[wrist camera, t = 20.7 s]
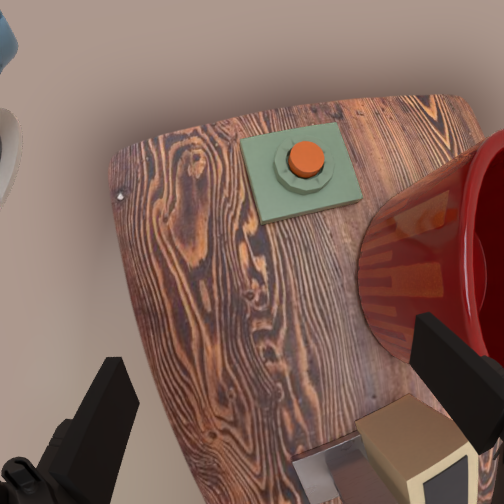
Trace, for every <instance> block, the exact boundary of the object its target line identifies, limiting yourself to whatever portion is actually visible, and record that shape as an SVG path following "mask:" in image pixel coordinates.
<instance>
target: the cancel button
mask: <svg viewBox="0 0 504 504" xmlns="http://www.w3.org/2000/svg"><path fill="white" fill-rule="evenodd" d="M288 164H289V167H290V169H291V170H292V172H293V173H294V174H296V175H297V176H299V177H303V178H310V177H313V176H315V175H316V174H317V173H318V172H319V170H320V169H321V167H322V166H323V164H324V153H323V151H322V149H321V148H320V147H319V146H318V145H316V144H315V143H313V142H309V141H302V142H299V143H297V144H296V145H294V146H293V148H292V150H291V153H290V155H289V159H288Z"/></svg>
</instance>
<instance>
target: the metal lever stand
mask: <svg viewBox="0 0 504 504" xmlns="http://www.w3.org/2000/svg"><path fill="white" fill-rule="evenodd" d="M291 460H292V463H293V466H294V468H295V470H296V472H297V475H298V477H299V479H300V482H301V484H302V486H303V488H304V490H305V493H306V495H307V497H308V499H309V501H310V504H321V503H323V502H326V501H329V500H331V499H334V498H336V497H339V496H340V499H341V501H342V503H343V504H399V503H398V501H397V500H396V499H395V497H394V496H393V495H392V493H391V492H390V491H389V489H388V488H387V487H386V485H385V484H384V483H383V481H382V480H381V479H380V477H379V476H378V475H377V473H376V472H375V471H374V469H373V468H372V466H371V465H370V464H369V460H368V457H367V453H366V450H365V447H364V443H363V440H362V436H361V434H360V433H359V432H358V430H357V431H355V432H353V433H350V434H348V435H346V436H344V437H341V438H339V439H337V440H334V441H332V442H330V443H327V444H325V445H322V446H320V447H317V448H315V449H312V450H309V451H307V452H304V453H301V454H298V455H296V456H293V457H291Z"/></svg>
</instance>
